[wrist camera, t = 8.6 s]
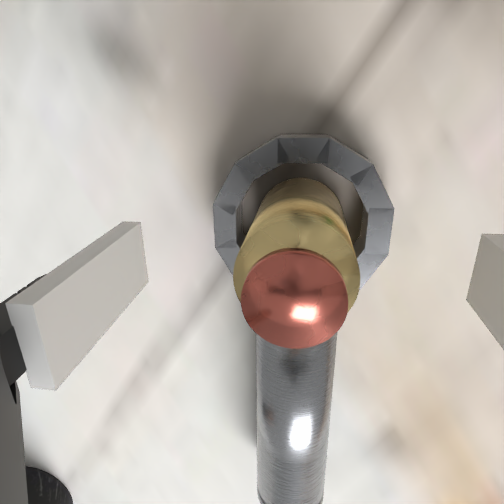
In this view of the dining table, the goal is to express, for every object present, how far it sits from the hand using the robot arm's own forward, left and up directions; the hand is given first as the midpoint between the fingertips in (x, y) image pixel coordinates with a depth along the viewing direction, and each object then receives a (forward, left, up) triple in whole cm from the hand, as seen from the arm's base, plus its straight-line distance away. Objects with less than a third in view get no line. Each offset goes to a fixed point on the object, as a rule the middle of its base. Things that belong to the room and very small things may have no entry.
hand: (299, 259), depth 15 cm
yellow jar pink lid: (+1, 0, -7) cm, 7 cm away
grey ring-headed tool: (+8, 0, -7) cm, 11 cm away
